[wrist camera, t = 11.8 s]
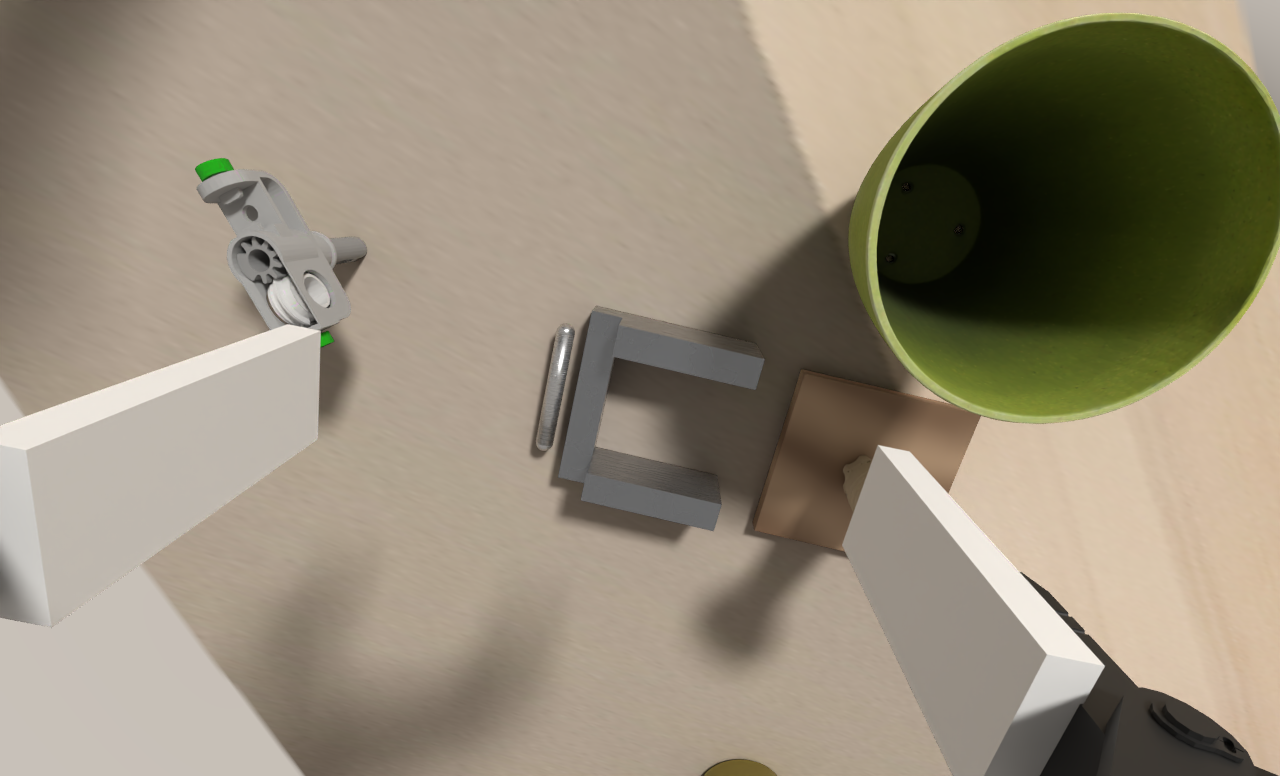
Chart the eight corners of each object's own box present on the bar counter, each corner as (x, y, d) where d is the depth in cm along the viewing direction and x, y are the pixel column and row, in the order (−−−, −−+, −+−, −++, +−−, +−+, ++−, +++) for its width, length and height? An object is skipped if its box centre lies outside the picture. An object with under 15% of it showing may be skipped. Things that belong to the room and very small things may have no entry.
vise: (565, 298, 40) (552, 309, 36) (755, 343, 40) (764, 359, 36) (535, 458, 44) (519, 486, 39) (709, 499, 44) (713, 531, 40)
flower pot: (786, 344, 40) (854, 427, 25) (795, 101, 36) (884, 23, 21) (1017, 339, 39) (1234, 422, 24) (1054, 90, 35) (1347, -1, 20)
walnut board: (801, 368, 41) (804, 373, 40) (972, 409, 41) (981, 415, 40) (752, 522, 44) (754, 530, 43) (910, 558, 44) (916, 567, 43)
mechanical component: (333, 164, 39) (221, 150, 29) (412, 310, 41) (332, 340, 32) (295, 184, 39) (173, 176, 30) (375, 327, 42) (286, 362, 32)
